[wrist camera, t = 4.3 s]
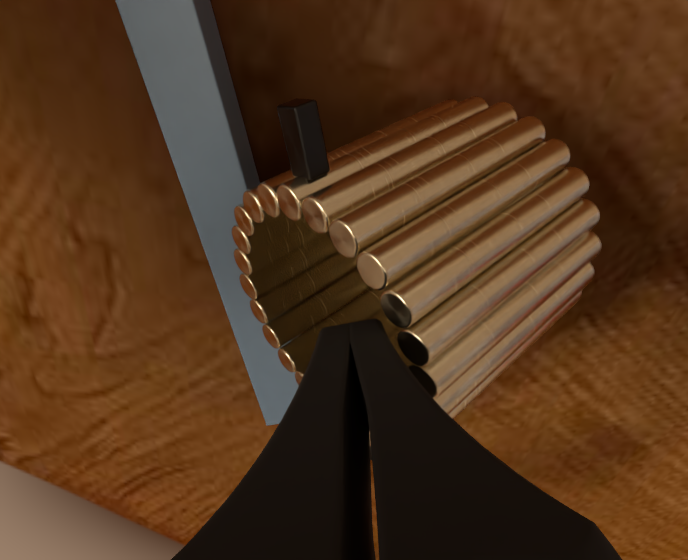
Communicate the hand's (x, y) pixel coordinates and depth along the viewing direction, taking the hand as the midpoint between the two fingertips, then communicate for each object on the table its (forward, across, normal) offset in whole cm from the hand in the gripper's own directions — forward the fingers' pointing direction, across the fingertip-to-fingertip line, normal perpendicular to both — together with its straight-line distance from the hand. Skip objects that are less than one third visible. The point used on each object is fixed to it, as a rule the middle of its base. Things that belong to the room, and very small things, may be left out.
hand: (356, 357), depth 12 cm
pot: (+9, -1, 0) cm, 9 cm away
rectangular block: (+9, +4, 0) cm, 10 cm away
